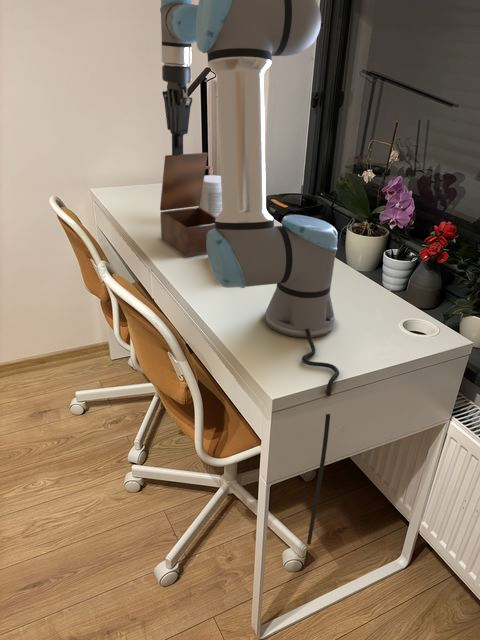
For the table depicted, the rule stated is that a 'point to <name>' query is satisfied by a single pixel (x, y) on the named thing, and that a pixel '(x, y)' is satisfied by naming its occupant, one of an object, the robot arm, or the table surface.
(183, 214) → the chest
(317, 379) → the table surface
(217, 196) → the supplement tub
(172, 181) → the lid
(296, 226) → the robot arm
